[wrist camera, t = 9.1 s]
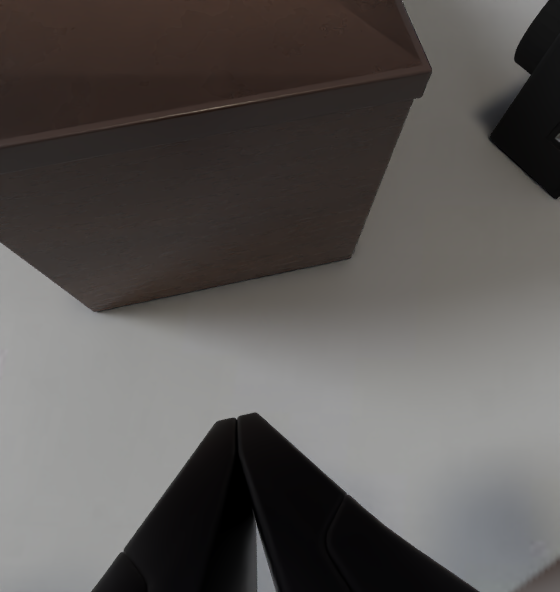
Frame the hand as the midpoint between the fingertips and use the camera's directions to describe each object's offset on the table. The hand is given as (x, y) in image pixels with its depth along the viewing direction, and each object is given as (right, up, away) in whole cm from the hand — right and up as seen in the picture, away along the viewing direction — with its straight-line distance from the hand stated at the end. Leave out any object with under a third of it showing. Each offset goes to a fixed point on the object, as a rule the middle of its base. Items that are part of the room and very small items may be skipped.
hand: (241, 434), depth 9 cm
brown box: (-4, +11, +13) cm, 17 cm away
